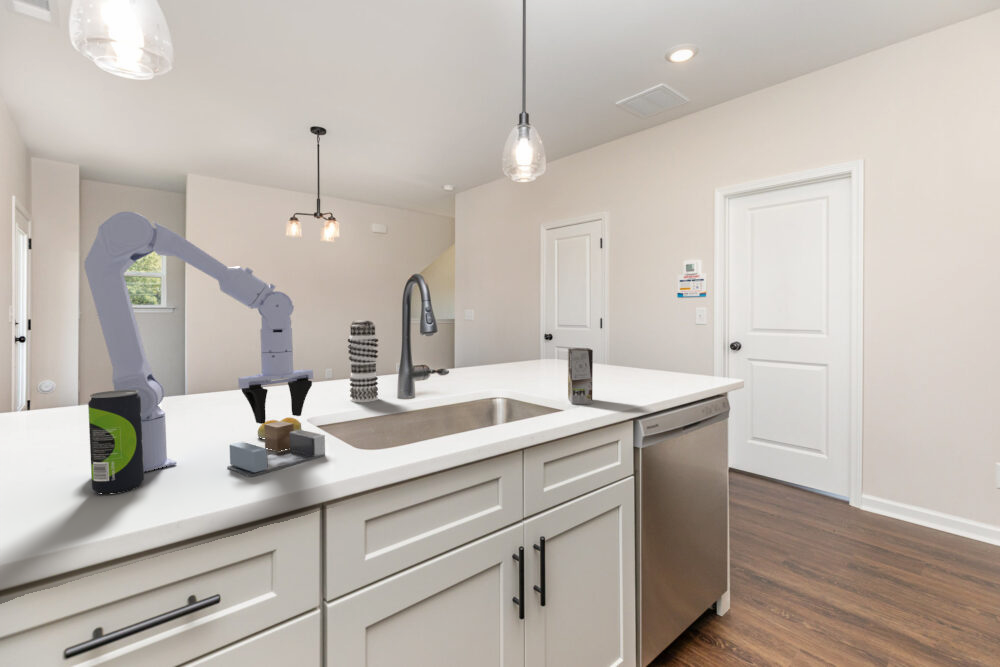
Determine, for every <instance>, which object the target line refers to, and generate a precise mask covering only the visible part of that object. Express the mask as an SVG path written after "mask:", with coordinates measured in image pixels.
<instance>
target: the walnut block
mask: <svg viewBox="0 0 1000 667" xmlns="http://www.w3.org/2000/svg"><path fill="white" fill-rule="evenodd" d="M278 421H279V422H274V423H269V424H264V428H265V440H264V448H268V449H272V450H275V451H277V452H276V453H279V452H278V451H281V450H285V449H289V448H290V436H289V434H290V432H292V431H294V424H292V423H288V422H283V421H281V420H278ZM289 450H290V449H289ZM285 451H286V450H285ZM281 452H282V451H281Z"/></svg>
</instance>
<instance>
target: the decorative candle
mask: <svg viewBox="0 0 1000 667" xmlns="http://www.w3.org/2000/svg"><path fill="white" fill-rule="evenodd" d="M349 327H350V335H349V338H348V339H347V342H348V343H349V345H348V346H347V347H348V349H349V350H348V354H350V356H349V357H348V360H349V364H350V365H351V366H350V369H351V371H350V378H349V381H350V382H351V383H349V386H350V387H351V388H350V389H349V392H350V395H349V397H350V398H349V401H350V400H351V401H350V402H352V401H353V403H369V402H375V401H378V400H379V398H378V396H379V393H378V391H379V388H378V386H377V385H378V384H379V383H378V381H377V380H378V379H379V378H378V376H377V375H378V374H377V372H378V371H377V364H378V360H376V359H377V358H378V357H379V356H378V355H377V354H378V353H379V350H377V349H376V348H377V347H379V344H378V343H377V342H379V339H378V338H377V334H376V325H375V324H374V322H373V321H371V320H353V321H352V322H351V324H350V325H349Z"/></svg>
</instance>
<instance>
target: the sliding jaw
mask: <svg viewBox="0 0 1000 667" xmlns="http://www.w3.org/2000/svg"><path fill="white" fill-rule="evenodd" d="M267 456H268V450H267V449H266V448H265V447H263V446H259V445H256V444H251V443H247V442H244V441H239V442H236V443H231V444H229V460H230V461H229V464H230V465H234V466H237V467H240V468H242V469H245V470H248V471H251V472H254V473H255V472H258V471H262V470H265V469H267V467H268V460H267Z"/></svg>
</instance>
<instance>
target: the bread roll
mask: <svg viewBox="0 0 1000 667" xmlns="http://www.w3.org/2000/svg"><path fill="white" fill-rule="evenodd" d="M279 421H283V422H288V423H292V424H294V431H296V430H303V429H302V423H301V422H300V420H298V419H297V418H295V417H294V418H293V417H285V418H283V419H281V420H277V419H271V420H267V421H266V420H265V423H263V424H260V426H259V427H258V429H257V437H258V438H259V437H261V438H265V428H264V424H269V423H274V422H279Z"/></svg>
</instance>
